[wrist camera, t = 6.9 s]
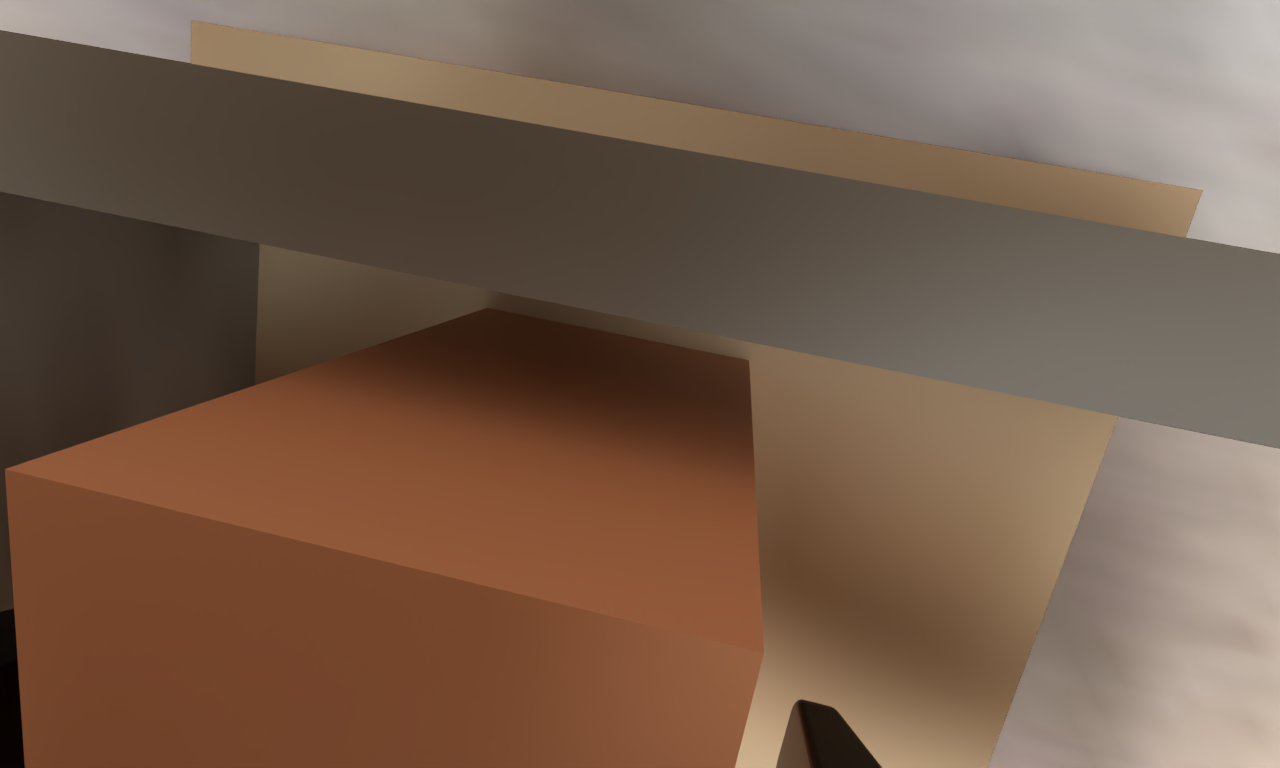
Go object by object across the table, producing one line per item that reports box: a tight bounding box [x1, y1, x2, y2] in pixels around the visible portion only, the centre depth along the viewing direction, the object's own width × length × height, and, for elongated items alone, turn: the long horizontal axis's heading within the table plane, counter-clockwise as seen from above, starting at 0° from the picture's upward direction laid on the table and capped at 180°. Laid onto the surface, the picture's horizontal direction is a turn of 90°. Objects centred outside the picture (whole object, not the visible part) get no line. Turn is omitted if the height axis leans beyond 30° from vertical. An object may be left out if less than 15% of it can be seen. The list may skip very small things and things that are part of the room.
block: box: [5, 308, 764, 768], centre depth 8 cm, size 4×6×7 cm, turn 170°
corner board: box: [0, 20, 1280, 768], centre depth 9 cm, size 13×14×6 cm
